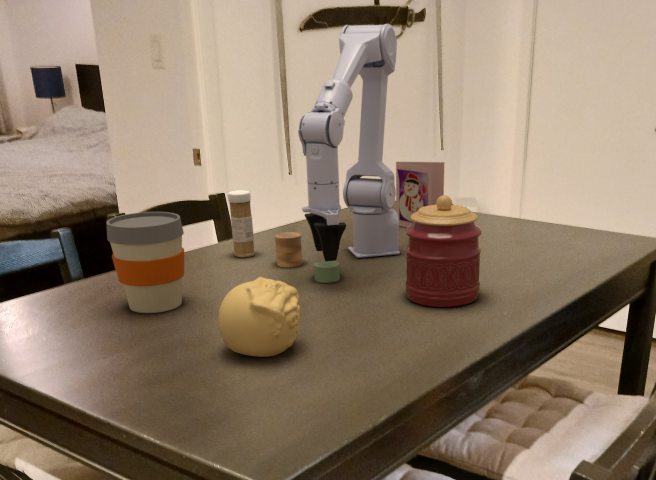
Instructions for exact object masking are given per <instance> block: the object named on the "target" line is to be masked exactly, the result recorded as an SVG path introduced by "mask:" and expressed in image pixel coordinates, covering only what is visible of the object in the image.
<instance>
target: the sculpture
mask: <svg viewBox="0 0 656 480" xmlns="http://www.w3.org/2000/svg"><path fill="white" fill-rule="evenodd" d="M299 300H300V296H299V291H298V290H297V288H296V287H294V286H292V285H289V284H288V283H286V282H284V281H281V280H274V279H272V278H266V277H262V276H258V277H257V278H256V279H253V280H251V281H246V282H243V283H240V284H239V285H236V286H234V287H233V288H232V289H230V290H229V291H228V293H226V295H224V298H223V299H222V302H221V303H220V306H219V311H218V321H217V322H218V330H219V334H220V336H221V339H222V340H223V343H224V344H225V345H226V346H227V348H228V349H230V351H232V352H234V353H237V354H240V355H244V356H249V357H256V358H257V357H258V358H268V357H275V356H278V355H279V354H282V353H283V352H285V351H286V350H287V349H288V348H290V347H292V346H293V344H294V342H295V341H296V339H297V338H298V336H299V335H298V333H299V332H300V330H301V328H300V325H299V323H300V321H301V306H300V305H301V304H299Z"/></svg>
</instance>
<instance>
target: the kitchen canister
mask: <svg viewBox="0 0 656 480" xmlns="http://www.w3.org/2000/svg"><path fill="white" fill-rule="evenodd" d="M478 218H479V217H478V214H477V213H475V212H473V211H471V209H470V208H469V207H467V206H463V205H459V204H453V200H452V197H450V196H449V195H443V196H440V197H439V198H438V199H437V202H436V205H430V206H425V207H422V208H420V209H419V210H418V211H417V212H415V213H414V214H412V215H411V220H412V221H413V223H412V225H410V226H409V227H408V228H407V227H406V228H405V234H406V235H407V237H408V244H407V246H406V248H405V253H406V281H405V291H406V297H407V299H409V301H411V302H413V303H416V304H417V305H422V306H426V307H435V308H436V307H437V308H447V307H448V308H449V307H450V308H451V307H460V306H464V305H469V304H471V303H473V302H474V301H476V300H477V299H478V297H479V292H480V286H481V282H480V267H481V265H480V264H481V262H480V261H481V254H482V248H481V246H480V245H479V243H480V242H479V241H480V240H479V238H480V236H481V235H482V234H483V229H482V228H481V227H480V226H479V225H477V223H476V221H477V220H478Z"/></svg>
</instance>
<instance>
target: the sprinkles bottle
mask: <svg viewBox="0 0 656 480" xmlns="http://www.w3.org/2000/svg"><path fill="white" fill-rule="evenodd" d="M227 200H228V202H229V209H230V224H231V225H230V226H231V235H232V241H233V242H232V243H233V255H234V256H235V257H236V258H250V257H253V256H255V254H256V251H255V243H254V239H255V237H254V225H253V216H252V208H251V201H252V198H251V192H250V191H249V190H245V189H239V190H238V189H237V190H232V191H229V192H228V193H227Z"/></svg>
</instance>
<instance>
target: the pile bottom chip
mask: <svg viewBox="0 0 656 480" xmlns="http://www.w3.org/2000/svg"><path fill="white" fill-rule="evenodd" d="M302 250H303V249H301V250H300V251H298V252H293V253H281V252H277V251H276V250H275V257H276V266H278V267H280V268H286V269H287V268H297V267H300V266H302V265H303V251H302Z"/></svg>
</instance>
